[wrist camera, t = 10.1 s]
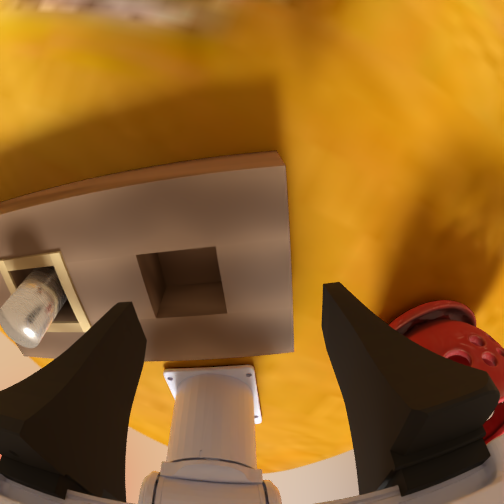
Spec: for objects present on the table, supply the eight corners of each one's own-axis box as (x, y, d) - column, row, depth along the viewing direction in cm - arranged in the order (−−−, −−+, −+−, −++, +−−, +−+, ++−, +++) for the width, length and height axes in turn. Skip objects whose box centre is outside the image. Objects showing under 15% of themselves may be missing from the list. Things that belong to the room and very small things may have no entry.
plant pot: (364, 292, 23) (427, 423, 13) (486, 281, 23) (560, 369, 13) (337, 395, 29) (362, 500, 19) (442, 376, 30) (483, 459, 19)
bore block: (286, 313, 24) (294, 354, 20) (42, 326, 24) (23, 357, 20) (276, 150, 18) (285, 166, 14) (-9, 205, 18) (-42, 227, 15)
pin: (87, 284, 21) (47, 349, 15) (55, 286, 21) (13, 346, 15) (73, 246, 20) (24, 305, 14) (41, 250, 20) (-10, 306, 14)
